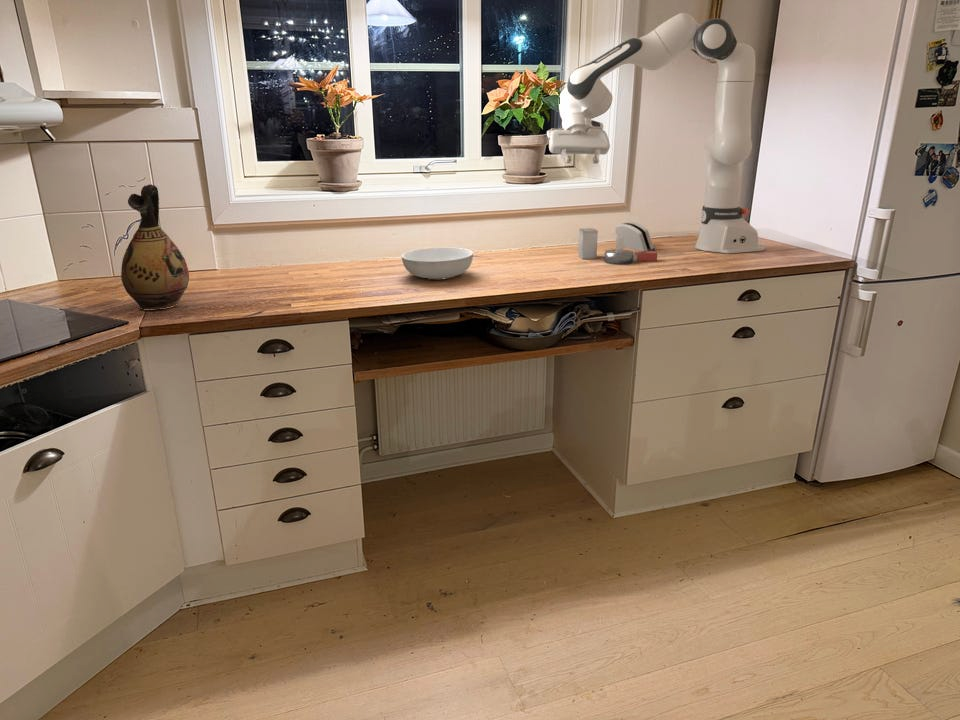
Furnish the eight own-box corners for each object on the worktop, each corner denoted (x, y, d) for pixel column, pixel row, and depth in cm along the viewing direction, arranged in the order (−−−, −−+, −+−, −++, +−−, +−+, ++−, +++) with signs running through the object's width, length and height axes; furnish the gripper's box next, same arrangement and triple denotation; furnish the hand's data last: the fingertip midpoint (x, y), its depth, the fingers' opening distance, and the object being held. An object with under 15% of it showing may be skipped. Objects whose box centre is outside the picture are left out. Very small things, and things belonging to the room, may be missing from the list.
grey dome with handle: (650, 257, 221) (651, 234, 219) (660, 262, 213) (662, 239, 210) (600, 259, 220) (601, 235, 217) (608, 265, 211) (610, 240, 209)
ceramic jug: (182, 313, 167) (160, 188, 157) (117, 315, 166) (91, 190, 156) (203, 295, 183) (184, 181, 173) (144, 297, 182) (122, 182, 171)
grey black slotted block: (657, 251, 230) (651, 223, 226) (646, 256, 230) (639, 229, 225) (629, 242, 245) (623, 217, 241) (619, 248, 244) (612, 222, 240)
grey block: (592, 255, 225) (593, 228, 222) (596, 258, 220) (597, 230, 217) (578, 256, 224) (579, 228, 221) (582, 259, 220) (583, 231, 217)
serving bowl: (432, 265, 214) (431, 244, 212) (487, 273, 203) (487, 250, 200) (387, 279, 198) (386, 255, 196) (444, 288, 187) (443, 263, 185)
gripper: (548, 121, 224) (554, 154, 219) (607, 123, 227) (614, 156, 222) (544, 135, 230) (549, 167, 224) (601, 136, 233) (608, 168, 228)
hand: (582, 162), depth 223 cm, fingers open, 8 cm apart
